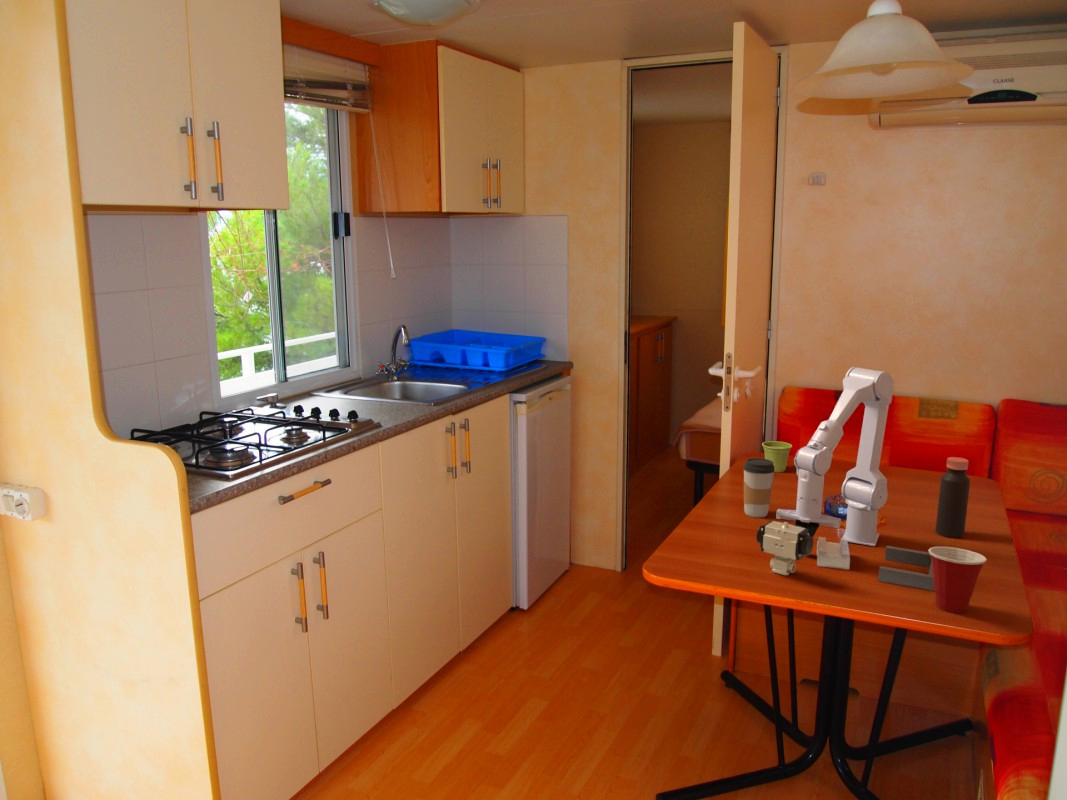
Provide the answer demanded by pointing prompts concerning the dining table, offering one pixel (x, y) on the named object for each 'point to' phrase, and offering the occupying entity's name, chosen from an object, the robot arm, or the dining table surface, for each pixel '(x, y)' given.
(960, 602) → the plastic cup
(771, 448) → the plant pot
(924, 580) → the dock
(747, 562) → the dining table surface
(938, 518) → the bottle
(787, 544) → the pneumatic valve
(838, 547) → the block
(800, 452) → the robot arm
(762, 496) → the coffee cup
